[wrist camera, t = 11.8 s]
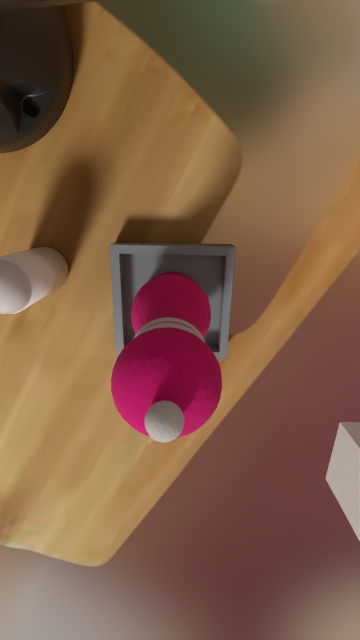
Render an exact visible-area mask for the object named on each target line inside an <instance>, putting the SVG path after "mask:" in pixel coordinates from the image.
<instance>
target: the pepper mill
mask: <svg viewBox="0 0 360 640" xmlns="http://www.w3.org/2000/svg"><path fill="white" fill-rule="evenodd" d="M131 319H132V325H133V328H134V331H135V333H136V335H135V337H134V339H133V340H131V341H130V342H129V343H128V344H126V346H125V347H124V348H123V350H122V351H121V353H120V354H119V356H118V358H117V360H116V363H115V366H114V368H113V372H112V378H111V391H112V395H113V399H114V403H115V405H116V408H117V410H118V412H119V413H120V415H121V416H122V417H123V419H124V420H125V421H126V422H127V423H128V424H129V425H130V426H131V427H133V428H134V429H136V430H137V431H138V432H140V433H143V434H145V435H147V436H150V437H151V438H153V439H154V440H156V441H159V442H169V441H172V440H174V439H176V438H178V437H182V436H185V435H188V434H190V433H192V432H194V431H196V430H197V429H198V428H200V427H201V426H202V425H203V424H204V423H205V422H206V421H207V420H208V419H209V418H210V417H211V416H212V414H213V412H214V411H215V409H216V408H217V405H218V403H219V400H220V396H221V390H222V378H221V370H220V366H219V363H218V361H217V358H216V356H215V354H214V353H213V352H212V350H211V349H210V347H209V346H208V345H207V344H206V343H205V340H204V337H205V335H206V333H207V331H208V329H209V327H210V322H211V308H210V303H209V300H208V297H207V295H206V294H205V292H204V291H203V289H202V288H201V287H200V286H199V285H198V284H197V283H195V281H194V280H193V279H191V278H190V277H189V276H187V275H185V274H183V273H179V272H164V273H161V274H159V275H157V276H155V277H154V278H153V279H151V280H150V281H148V282H147V283H145V284H144V285H143V286H142V287H141V288H140V290H139V291H138V292H137V294H136V296H135V298H134V301H133V305H132V311H131Z"/></svg>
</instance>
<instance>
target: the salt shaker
mask: <svg viewBox="0 0 360 640" xmlns="http://www.w3.org/2000/svg"><path fill="white" fill-rule="evenodd" d="M67 277H68V265H67V263H66V260H65V259H64V257H63V256H62V255H61V254H60V253H59V252H58V251H56V250H54V249H52V248H49V247H38V248H34V249H30V250H26V251H22V252H18V253H14V254H10V255H6V256H2V257H0V314H13V313H18V312H20V311H22V310H24V309H25V308H27V307H29V306H30V305H32V304H33V303H35V302H37V301H38V300H40V299H41V298H43V297H45V296H46V295H48V294H49V293H51V292H53V291H54V290H56V289H57V288H59V287H60V286H62V285H63V284H64V283H65V281H66V280H67Z"/></svg>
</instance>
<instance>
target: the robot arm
mask: <svg viewBox="0 0 360 640" xmlns="http://www.w3.org/2000/svg"><path fill="white" fill-rule="evenodd" d="M92 1H101V0H0V153H6V152H13V151H17V150H20V149H23V148H26V147H28V146H30V145H32V144H34V143H35V142H37V141H38V140H40V139H41V138H42V137H43V136H44V135H46V134H47V133H48V132H49V130H50V129H51V128H52V127H53V126H54V124H55V123H56V122H57V120H58V118H59V117H60V115H61V113H62V111H63V109H64V107H65V104H66V101H67V99H68V95H69V92H70V87H71V81H72V72H73V52H72V42H71V37H70V31H69V27H68V23H67V20H66V16H65V14H64V11H63V8H62V5H66V4H75V3H83V2H92ZM326 480H327V482H328V484H329V486H330V487H331V489H332V491H333V493H334V495H335V496H336V498H337V500H338V502H339V504H340V506H341V508H342V509H343V511H344V513H345V515H346V517H347V519H348V520H349V522H350V524H351V526H352V528H353V530H354V531H355V533H356V535H357V537H358V539H359V540H360V422H340V424H339V428H338V432H337V436H336V440H335V444H334V448H333V452H332V456H331V460H330V464H329V467H328V471H327V475H326Z"/></svg>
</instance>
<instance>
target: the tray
mask: <svg viewBox="0 0 360 640" xmlns="http://www.w3.org/2000/svg"><path fill="white" fill-rule="evenodd" d="M235 249H236V247H235V246H233V245H231V244H187V243H136V242H115V243H112V244H110V254H111V271H112V288H113V305H114V322H115V339H116V356H117V358H118V356H119V354H120V353H121V351H122V350H123V348H124V347H125V346H126V344H128V343H129V342H130V341H131V340H133V339H134V337H135V335H136V333H135V331H134V328H133V325H132V319H131V311H132V305H133V301H134V298H135V296H136V294H137V292H138V291H139V290H140V288H141V287H142V286H143V285H144V284H145V283H147V282H148V281H150V280H151V279H153V278H154V277H155V276H157V275H159V274H161V273H164V272H179V273H183V274H185V275H187V276H189V277H190V278H191V279H193V280H194V281H195V283H197V284H198V285H199V286H200V287H201V288H202V289H203V291H204V292H205V294H206V295H207V297H208V300H209V303H210V308H211V322H210V327H209V329H208V331H207V333H206V335H205V337H204V340H205V343H206V344H207V345H208V346H209V347H210V349H211V350H212V352H213V353H214V354H215V356H216V358H217V359H227V348H228V336H229V324H230V323H229V322H230V311H231V298H232V286H233V274H234V262H235Z"/></svg>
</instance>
